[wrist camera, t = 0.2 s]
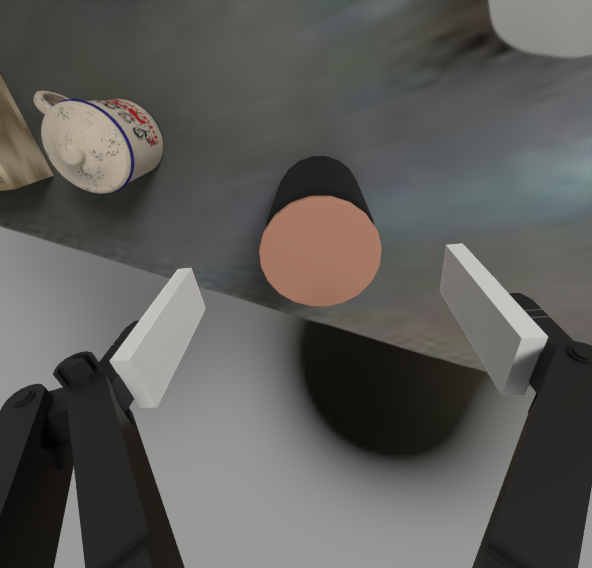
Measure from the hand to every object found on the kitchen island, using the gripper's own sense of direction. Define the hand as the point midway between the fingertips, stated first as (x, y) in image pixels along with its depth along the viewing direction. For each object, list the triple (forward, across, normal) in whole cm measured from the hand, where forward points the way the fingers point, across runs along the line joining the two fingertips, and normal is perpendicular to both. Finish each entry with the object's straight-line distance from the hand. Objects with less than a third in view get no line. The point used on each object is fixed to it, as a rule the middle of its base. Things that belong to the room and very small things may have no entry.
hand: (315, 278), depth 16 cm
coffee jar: (+28, 0, -4) cm, 28 cm away
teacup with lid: (+28, -24, +7) cm, 38 cm away
